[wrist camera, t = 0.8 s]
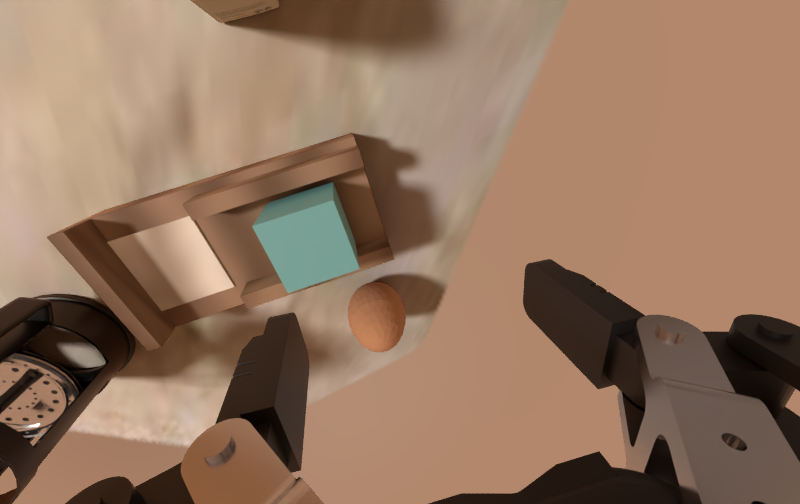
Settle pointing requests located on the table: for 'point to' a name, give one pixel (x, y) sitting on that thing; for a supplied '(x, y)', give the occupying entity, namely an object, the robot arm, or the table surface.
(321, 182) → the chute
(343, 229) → the block
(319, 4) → the table surface
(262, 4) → the skincare box
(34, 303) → the french press
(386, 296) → the egg
